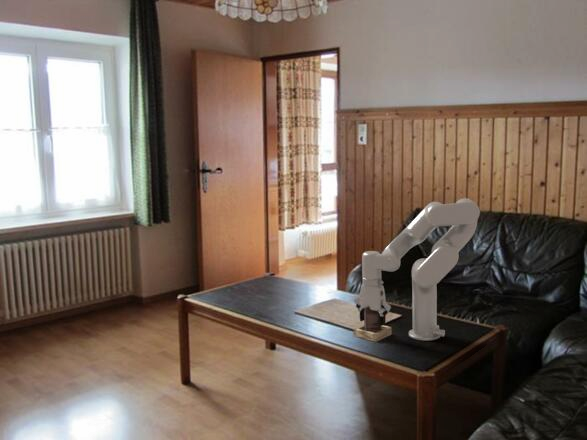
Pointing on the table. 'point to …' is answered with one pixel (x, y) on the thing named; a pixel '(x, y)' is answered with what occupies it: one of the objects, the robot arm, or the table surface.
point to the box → (371, 320)
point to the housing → (372, 336)
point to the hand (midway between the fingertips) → (372, 322)
